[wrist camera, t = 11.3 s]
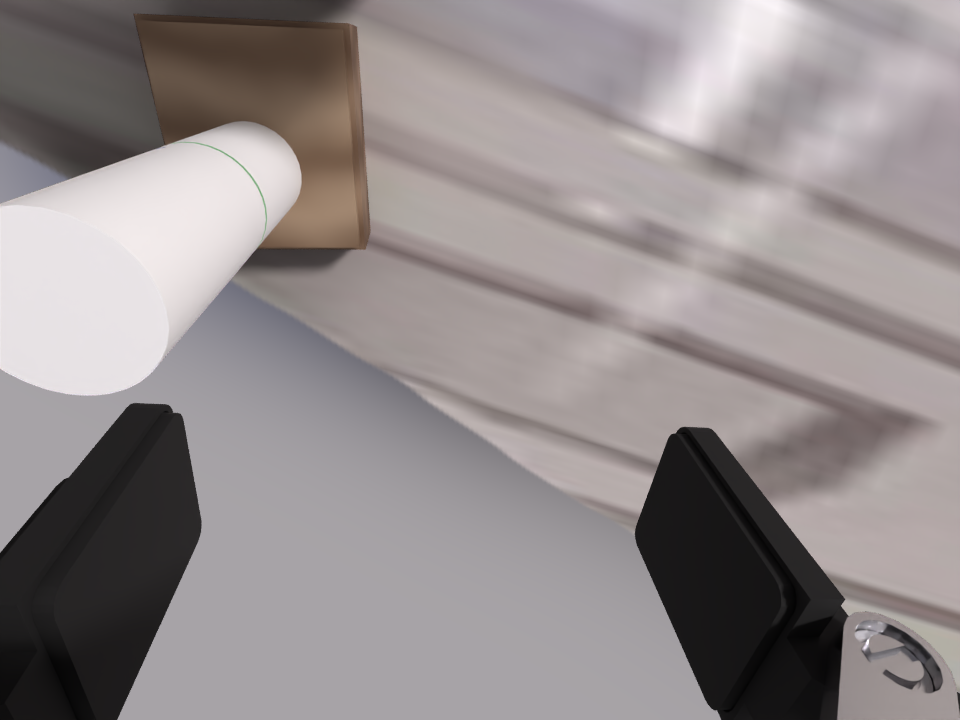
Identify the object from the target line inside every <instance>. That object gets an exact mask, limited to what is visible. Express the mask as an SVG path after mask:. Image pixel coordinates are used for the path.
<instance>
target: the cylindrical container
mask: <svg viewBox="0 0 960 720" xmlns="http://www.w3.org/2000/svg"><path fill="white" fill-rule="evenodd" d="M301 184H302V180H301V170H300V165H299V162H298V160H297V157H296V155H295V154H294V152H293V150H292V149H291V147H290V146H289V145H288V143H287V142H286V141H285V140H284V139H283V138H282V137H281V136H280V135H278V134H277V133H276V132H275V131H273V130H271V129H269V128H268V127H266V126H263V125H260V124H258V123H255V122H247V121H238V122H232V123H228V124H225V125H222V126H219V127H216V128H213V129H211V130H208V131H205V132H202V133H199V134H196V135H194V136H191V137H188V138H185V139H182V140H179V141H177V142H174V143H171V144H168V145H165V146H162V147H159V148H157V149H154V150H151V151H148V152H145V153H142V154H140V155H137V156H134V157H131V158H128V159H125V160H123V161H120V162H117V163H114V164H111V165H108V166H106V167H103V168H100V169H97V170H94V171H91V172H88V173H86V174H83V175H80V176H77V177H74V178H71V179H69V180H66V181H63V182H60V183H57V184H54V185H52V186H49V187H46V188H43V189H40V190H37V191H35V192H32V193H29V194H26V195H23V196H21V197H17V198H15V199H12V200H9V201H6V202H3V203H0V369H1V370H2V371H4V372H6V373H8V374H10V375H12V376H14V377H16V378H18V379H20V380H22V381H24V382H26V383H29V384H32V385H34V386H38V387H40V388H43V389H46V390H50V391H55V392H59V393H64V394H69V395H85V396H93V395H103V394H110V393H114V392H118V391H122V390H125V389H127V388H129V387H131V386H133V385H135V384H138V383H139V382H141V381H142V380H143V379H145V378H146V377H147V376H148V375H150V374H151V373H152V372H153V371H154V370H155V368H156V367H157V366H158V365H159V364H160V362H161V361H162V360H163V359H164V357H166V355H167V354H168V353H169V352H170V351H171V349H172V348H173V347H174V346H175V345H176V343H177V342H178V341H179V340H180V339H181V338H182V336H183V335H184V334H185V333H186V332H187V330H188V329H189V328H190V327H191V326H192V324H193V323H194V322H195V321H196V320H197V319H198V317H199V316H200V315H201V314H202V313H203V311H204V310H205V309H206V308H207V307H208V306H209V304H210V303H211V302H212V301H213V300H214V299H215V297H216V296H217V295H218V294H219V293H220V291H221V290H222V289H223V288H224V287H225V286H226V284H227V283H228V282H229V281H230V280H231V278H232V277H233V276H234V275H235V274H236V273H237V271H238V270H239V269H240V268H241V267H242V265H243V264H244V263H245V262H246V261H247V260H248V258H249V257H250V256H251V255H252V254H253V252H254V251H255V250H256V249H257V248H258V247H259V245H260V244H261V243H262V242H263V241H264V239H265V238H266V237H267V236H268V235H269V233H270V232H271V231H272V230H273V229H274V228H275V226H276V225H277V224H278V223H279V222H280V220H281V219H282V218H283V217H284V216H285V215H286V213H287V212H288V211H289V210H290V209H291V207H292V206H293V205H294V203H295V202H296V200H297V198H298V196H299V194H300V189H301Z"/></svg>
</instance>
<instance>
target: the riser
mask: <svg viewBox="0 0 960 720" xmlns="http://www.w3.org/2000/svg"><path fill="white" fill-rule="evenodd" d="M134 18H135V22H136V27H137V31H138V35H139V39H140V43H141V48H142V52H143V56H144V60H145V64H146V69H147V73H148V77H149V81H150V85H151V90H152V94H153V98H154V102H155V106H156V111H157V115H158V119H159V123H160V127H161V132H162V136H163V140H164V144H165V145H168V144H171V143H174V142H177V141H179V140H182V139H185V138H188V137H191V136H194V135H196V134H199V133H202V132H205V131H208V130H211V129H213V128H216V127H219V126H222V125H225V124H228V123H232V122H238V121H247V122H255V123H258V124H260V125H263V126H266V127H268V128H269V129H271V130H273V131H275V132H276V133H277V134H278V135H280V136H281V137H282V138H283V139H284V140H285V141H286V142H287V143H288V145H289V146H290V147H291V149H292V150H293V152H294V154H295V155H296V157H297V160H298V162H299V165H300V170H301V180H302V184H301V189H300V194H299V196H298V198H297V200H296V202H295V203H294V205H293V206H292V207H291V209H290V210H289V211H288V212H287V213H286V215H285V216H284V217H283V218H282V219H281V220H280V222H279V223H278V224H277V225H276V226H275V228H274V229H273V230H272V231H271V232H270V233H269V235H268V236H267V237H266V238H265V239H264V241H263V242H262V243H261V244H260V245H259V247H258V248H257V249H366V246H367V242H368V239H369V235H370V218H369V203H368V188H367V173H366V157H365V142H364V127H363V112H362V97H361V82H360V67H359V52H358V36H357V27H356V26H353V25H351V24H348V23H326V22H305V21H283V20H261V19H239V18H217V17H196V16H174V15H152V14H134Z"/></svg>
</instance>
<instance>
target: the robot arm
mask: <svg viewBox="0 0 960 720" xmlns="http://www.w3.org/2000/svg"><path fill="white" fill-rule="evenodd" d="M200 533H201V516H200V510H199V505H198V499H197V494H196V488H195V482H194V477H193V472H192V466H191V460H190V454H189V449H188V444H187V438H186V432H185V426H184V421H183V418H182V416H181V414H179V413H173V411H172V409H171V407H170V406H169V405H166V404H144V403H133V404H130V405H129V406H128V407H127V408H126V409H125V411H124V412H123V413H122V414H121V415H120V416H119V418H118V419H117V420H116V421H115V423H114V424H113V425H112V426H111V427H110V428H109V430H108V431H107V432H106V433H105V434H104V436H103V437H102V438H101V439H100V441H99V442H98V443H97V444H96V445H95V447H94V448H93V449H92V450H91V451H90V453H89V454H88V455H87V456H86V457H85V459H84V460H83V461H82V462H81V463H80V465H79V466H78V467H77V469H76V470H75V471H74V472H73V473H72V474H71V476H70V477H69V478H66V479H64V480H63V481H62V482H60V483H59V484H58V485H57V486H56V487H55V488H54V490H53V491H52V492H51V493H50V494H49V496H48V497H47V498H46V499H45V500H44V502H43V503H42V504H41V505H40V506H39V508H38V509H37V510H36V511H35V512H34V513H33V514H32V516H31V517H30V518H29V519H28V520H27V522H26V523H25V524H24V525H23V526H22V528H21V529H20V530H19V531H18V532H17V534H16V535H15V536H14V537H13V538H12V539H11V541H10V542H9V543H8V544H7V545H6V547H5V548H4V549H3V550H2V551H1V553H0V720H117V719H118V717H119V714H120V712H121V710H122V707H123V706H124V703H125V701H126V699H127V697H128V695H129V692H130V690H131V688H132V686H133V684H134V681H135V679H136V677H137V675H138V673H139V670H140V668H141V666H142V664H143V661H144V659H145V657H146V655H147V653H148V651H149V648H150V646H151V644H152V642H153V639H154V637H155V635H156V633H157V631H158V629H159V626H160V624H161V622H162V620H163V618H164V615H165V613H166V611H167V609H168V607H169V604H170V602H171V600H172V598H173V595H174V593H175V591H176V589H177V587H178V585H179V582H180V580H181V578H182V576H183V573H184V571H185V569H186V567H187V565H188V563H189V560H190V558H191V556H192V554H193V552H194V549H195V547H196V545H197V543H198V540H199V537H200ZM635 539H636V543H637V546H638V548H639V551H640V553H641V555H642V557H643V560H644V562H645V564H646V566H647V569H648V571H649V573H650V576H651V578H652V580H653V582H654V585H655V587H656V589H657V591H658V594H659V596H660V598H661V600H662V603H663V605H664V607H665V609H666V612H667V614H668V616H669V619H670V621H671V623H672V625H673V627H674V630H675V632H676V634H677V637H678V639H679V641H680V643H681V645H682V648H683V650H684V652H685V655H686V657H687V659H688V662H689V663H690V666H691V668H692V670H693V673H694V675H695V677H696V680H697V682H698V684H699V686H700V688H701V691H702V693H703V695H704V698H705V700H706V701H707V703H708V705H709V706H710V707H711V708H712V709H713V710H717V711H718V713H719V715H720V718H721V720H960V693H958V692H957V690H956V684H955V681H954V678H953V675H952V672H951V670H950V669H949V667H948V666H947V664H946V663H945V661H944V659H943V658H942V657H941V655H940V654H939V653H938V652H937V651H936V650H935V649H934V648H933V647H932V646H931V645H930V644H929V643H928V642H927V641H926V640H924V639H923V638H922V637H921V636H919V635H918V634H917V633H916V632H914V631H913V630H911V629H910V628H908V627H906V626H905V625H903V624H901V623H900V622H898V621H896V620H894V619H891V618H889V617H886V616H884V615H881V614H877V613H872V612H867V611H865V612H856V613H853V614H852V615H850V616H848V615H847V613H846V612H845V611H844V610H843V608H842V607H841V605H842V603H843V602H844V600H845V598H844V597H843V596H842V595H841V593H840V592H839V591H838V590H837V588H836V587H835V586H834V584H833V583H832V582H831V581H830V579H829V578H828V577H827V575H826V574H825V573H824V572H823V570H822V569H821V568H820V566H819V565H818V564H817V563H816V561H815V560H814V559H813V557H812V556H811V555H810V554H809V552H808V551H807V550H806V548H805V547H804V546H803V545H802V543H801V542H800V541H799V540H798V538H797V537H796V536H795V534H794V533H793V532H792V531H791V529H790V528H789V527H788V525H787V524H786V523H785V522H784V520H783V519H782V518H781V516H780V515H779V514H778V513H777V511H776V510H775V509H774V507H773V506H772V505H771V504H770V502H769V501H768V500H767V498H766V497H765V496H764V495H763V493H762V492H761V491H760V489H759V488H758V487H757V486H756V484H755V483H754V482H753V481H752V479H751V478H750V477H749V475H748V474H747V473H746V472H745V470H744V469H743V468H742V466H741V465H740V464H739V463H738V461H737V460H736V459H735V457H734V456H733V455H732V454H731V452H730V451H729V450H728V448H727V447H726V446H725V445H724V443H723V442H722V441H721V439H720V438H719V437H718V436H717V434H716V433H715V432H714V431H713V430H712V429H710V428H697V427H682V428H680V429H679V430H678V431H677V433H676V434H671V435H670V436H669V438H668V441H667V443H666V446H665V449H664V452H663V454H662V457H661V460H660V463H659V465H658V468H657V471H656V473H655V476H654V479H653V482H652V484H651V487H650V490H649V493H648V495H647V498H646V501H645V503H644V506H643V509H642V512H641V514H640V517H639V520H638V523H637V525H636V529H635Z"/></svg>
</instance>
